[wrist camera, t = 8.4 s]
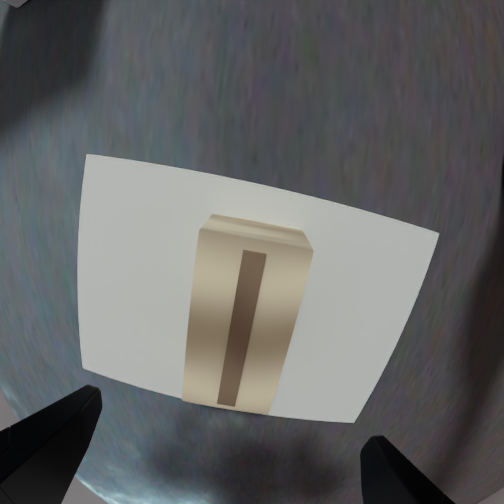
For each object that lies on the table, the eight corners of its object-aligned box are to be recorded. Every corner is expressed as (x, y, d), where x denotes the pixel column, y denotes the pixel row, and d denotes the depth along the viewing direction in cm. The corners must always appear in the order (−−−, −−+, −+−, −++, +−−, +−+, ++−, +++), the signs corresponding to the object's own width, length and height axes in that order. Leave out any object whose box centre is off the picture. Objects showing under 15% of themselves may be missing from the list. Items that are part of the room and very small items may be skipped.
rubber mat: (436, 232, 18) (439, 233, 17) (352, 419, 22) (353, 422, 22) (89, 154, 17) (86, 154, 16) (84, 365, 21) (82, 368, 21)
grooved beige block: (267, 373, 20) (268, 417, 16) (193, 360, 20) (181, 402, 16) (302, 229, 17) (314, 252, 13) (212, 213, 17) (198, 231, 13)
